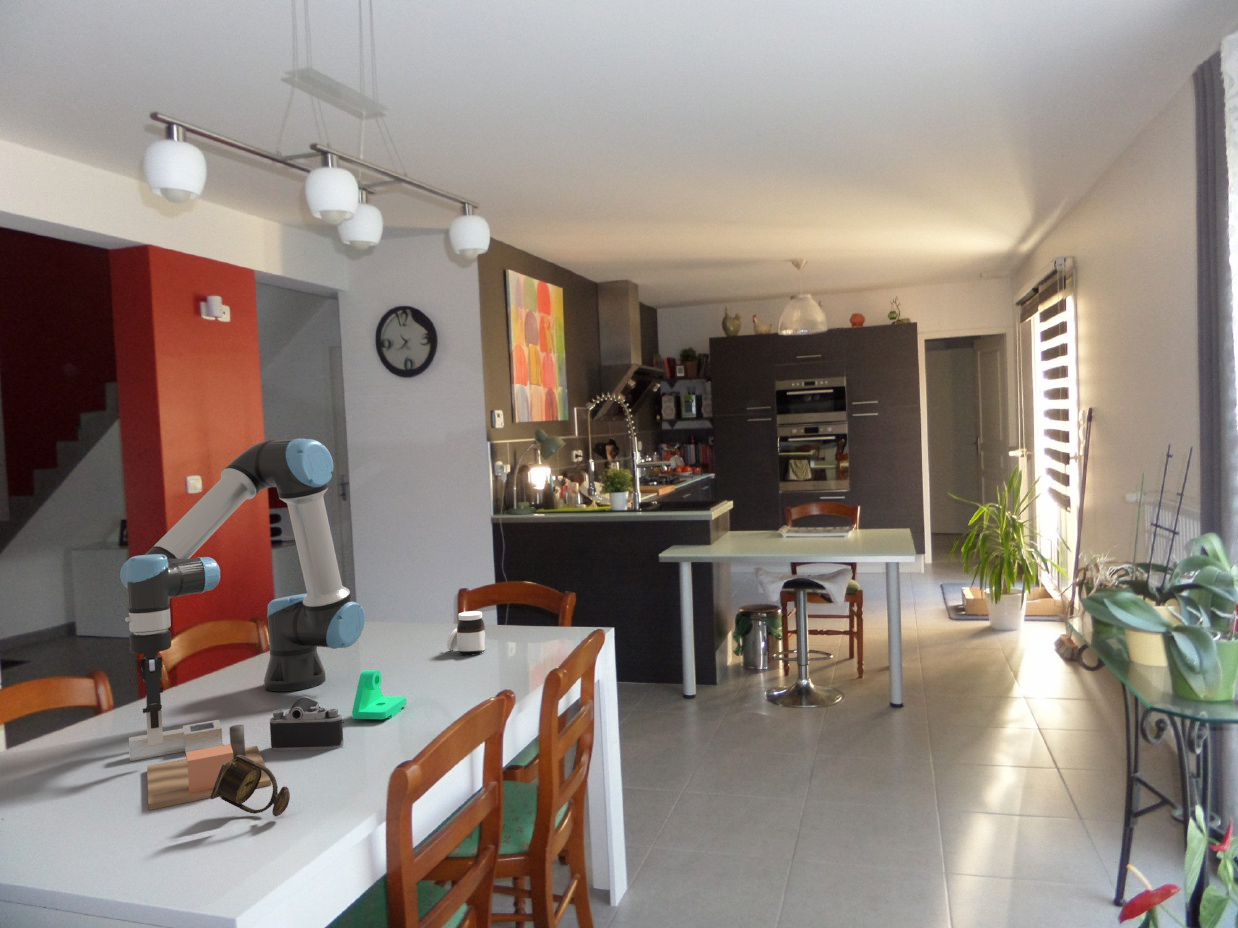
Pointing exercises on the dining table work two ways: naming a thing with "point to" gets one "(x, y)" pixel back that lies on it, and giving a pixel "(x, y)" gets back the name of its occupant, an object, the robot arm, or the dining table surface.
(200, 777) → the block
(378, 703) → the camera mount
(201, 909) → the dining table surface
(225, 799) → the brass desk clock
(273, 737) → the camera
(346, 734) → the dining table surface
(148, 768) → the board
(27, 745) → the dining table surface
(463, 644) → the spread jar
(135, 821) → the dining table surface
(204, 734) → the link
